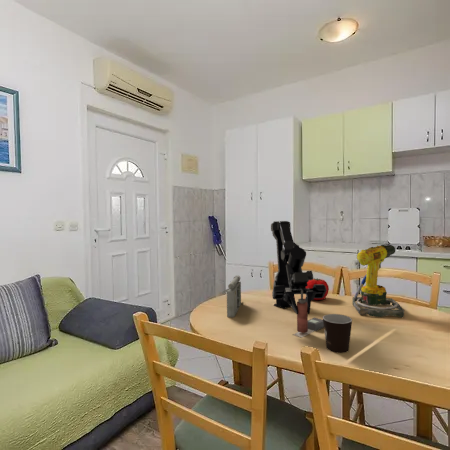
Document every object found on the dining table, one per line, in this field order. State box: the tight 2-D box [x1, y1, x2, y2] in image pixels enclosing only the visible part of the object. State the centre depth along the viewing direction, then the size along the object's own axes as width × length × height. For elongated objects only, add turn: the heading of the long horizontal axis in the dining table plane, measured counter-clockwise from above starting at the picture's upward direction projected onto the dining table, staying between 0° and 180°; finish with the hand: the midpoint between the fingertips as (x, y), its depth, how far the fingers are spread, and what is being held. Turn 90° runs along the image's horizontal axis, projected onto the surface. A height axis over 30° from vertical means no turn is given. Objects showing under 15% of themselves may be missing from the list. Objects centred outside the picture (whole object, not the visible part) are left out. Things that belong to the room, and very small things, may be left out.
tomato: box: [306, 278, 330, 301], centre depth 154 cm, size 12×12×10 cm
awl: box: [296, 290, 309, 333], centre depth 110 cm, size 4×4×14 cm
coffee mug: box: [322, 313, 353, 354], centre depth 99 cm, size 12×9×10 cm
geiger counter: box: [221, 274, 242, 318], centre depth 143 cm, size 14×6×25 cm
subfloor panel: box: [292, 329, 315, 339], centre depth 116 cm, size 15×16×1 cm
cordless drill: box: [351, 244, 405, 318], centre depth 135 cm, size 18×19×28 cm
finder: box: [308, 317, 324, 332], centre depth 115 cm, size 6×4×3 cm
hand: (303, 313), depth 108 cm, fingers closed on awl, 4 cm apart
